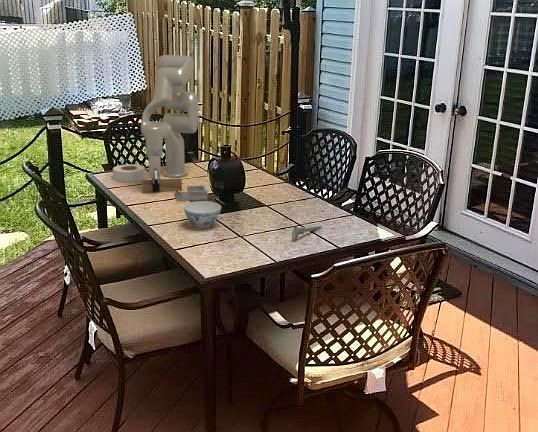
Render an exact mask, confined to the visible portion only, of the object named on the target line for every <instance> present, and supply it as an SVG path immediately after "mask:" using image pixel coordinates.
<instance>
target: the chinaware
mask: <svg viewBox="0 0 538 432" xmlns="http://www.w3.org/2000/svg"><path fill="white" fill-rule="evenodd" d="M183 211H184V214H185V216H186V218H187V219H188V220H189V222H191V224H193V225H194V226H195V227H196V228H201V229H202V228H203V229H204V228H209V227H210V226H212V224H213V223H214V222H215V221H216V220H217V219H218V218H219V216H220V214H221V211H222V206H221V205H220V204H219V203H217V202H214V201H209V200H196V201H192V202H191V201H190V202H188V203H186V204H185V205H184V206H183Z"/></svg>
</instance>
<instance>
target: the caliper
mask: <svg viewBox="0 0 538 432" xmlns="http://www.w3.org/2000/svg"><path fill="white" fill-rule="evenodd" d="M321 229H323V226H321V225H313V226H307V227H304V226H300V227H299V225H294V227H293V228H292V233H291V241H292V242H295V241H298V239H299V237H300V235H301V236H302V235H304V234H305V233H307V232H314V231H319V230H321Z"/></svg>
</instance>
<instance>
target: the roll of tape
mask: <svg viewBox="0 0 538 432" xmlns="http://www.w3.org/2000/svg"><path fill="white" fill-rule="evenodd" d="M112 177H113V178H112V179H113V180H114V181H115V182H119V183H138V182H141V181H142V180H146V168H145V166H144V165H143V164H141V165H140V164H133V163H132V164H129V163H127V164H120V165H117V166H114V167H113V168H112Z"/></svg>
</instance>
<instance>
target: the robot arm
mask: <svg viewBox="0 0 538 432" xmlns="http://www.w3.org/2000/svg"><path fill="white" fill-rule="evenodd" d="M157 63H158V67H159V68H158V69H156V73H155V81H154V82H155V83H154V91H153V99H152V100H151V101H150V102H149V103H148V105H147V106H146V107H145V108H144V110H143V112H142V116H141V123H140V133H141V135H142V136H143V137H144V138H145V155H146V157H147V160H148V162H147V163H148V176H149V177H150V178H151V180H153V183H152V186H153V192H155V193H160V192H159V191H160V186H159V179H160V177H161V157H162V156H163V155H164V153H163V152H164V151H165V170H164V171H163V172H162V175H163V176H164V177H167V178H182V177H186V176H187V175H189V172H188V170H185V140H184V138H183V136H182V135H181V134H194V133H196V132H197V130H198V126H199V125H198V124H199V99H198V98H199V97H198V95H197V94H196V93H195V92H193V91H185V90H184V86H185V85H186V84H187V83H188V81H189V79H190V77H191V75H192V74H193V71H194V66H195V63H194V59H193V57H191V56H189V55H178V54H176V55H175V54H164V55H160V56H159V57H158V60H157ZM165 106H166V107H167V109H168V110H170V111H180V112H187V113H179V112H178V113H175V112H169V113H166V114H165V115H164V116H163V118H162V121H150V120H151V116H152V114H153V113H154V112H155V111H157V110H158V109H160V108H162V107H165ZM163 140H164V145H165V147H164V148H165V150H164V151H163Z"/></svg>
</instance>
